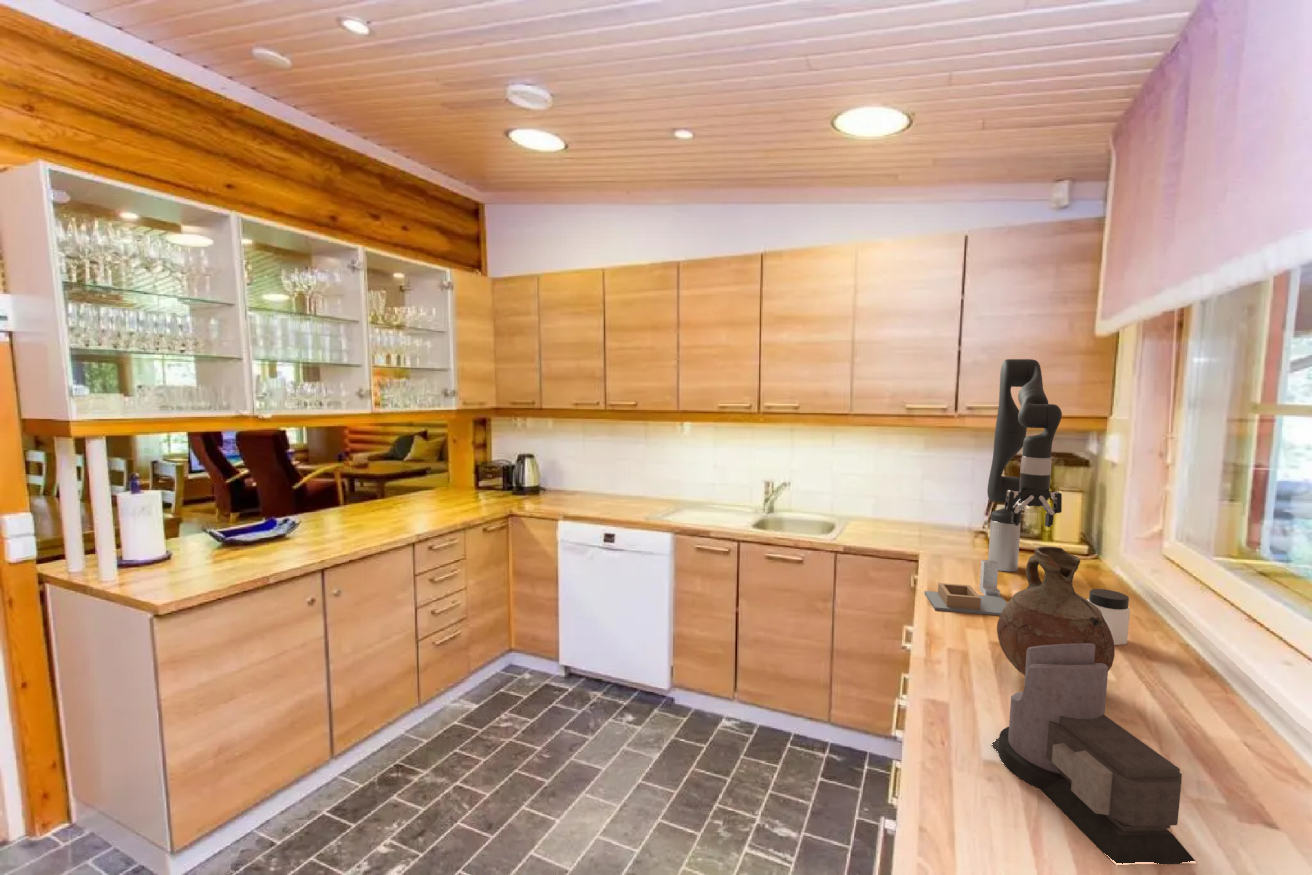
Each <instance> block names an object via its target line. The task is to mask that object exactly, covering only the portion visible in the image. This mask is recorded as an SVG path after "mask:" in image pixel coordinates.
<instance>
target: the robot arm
mask: <svg viewBox="0 0 1312 875" xmlns="http://www.w3.org/2000/svg"><path fill="white" fill-rule="evenodd" d="M1043 385H1044V384H1043V376H1042V368H1041V365H1040V363H1039V361H1037V360H1036V359H1032V358H1031V359H1030V358H1017V359H1016V358H1010V359H1009V358H1007V359H1004V360H1003V362H1002V364H1001V367H1000V374H999V391H998V392H999V398H998V408H997V416H996V422H995V429H994V440H993V454H992V461H991V467H990V472H989V477H988V482H987V489H986V490H987V498H988V499H989V501H991V502H997V503H1004V507H1003V508H1000V509H996V510H993V511H991V513H990V523H989V541H988V554H987V556H988V558H987V560H994V561H996V562H997V563H998V571H1000V572H1009V573H1010V572H1011V573H1012V572H1017V571H1018V569H1019V567H1018V566H1019V555H1020V553H1019V552H1020V541H1021V540H1020V537H1021V522H1022V510H1023V509H1024V508H1026V506H1027V507H1033V506H1034V507H1039V508H1040V507H1042V508H1043V510H1044V511H1045V512H1046V513H1045V515H1044V517H1045V518H1044V526H1045V527H1046V528H1051V526H1053V524H1054V515H1056V514H1061V513H1062V508H1063V506H1062V505H1063V504H1062V501H1063V498H1062V497H1063V496H1062V493H1061V492H1058V491H1056V490H1055V491H1053V492H1050V491H1051V490H1050V488H1051V487H1050V486H1051V474H1052V458H1051V457H1052V447H1053V441H1054V437H1055V435H1056V431H1057V430H1058V427H1059V426H1060V423H1061V420H1062V417H1063V416H1062V415H1063V413H1062V410H1061V407H1060V406H1058V405H1057V404H1054V403H1049V400H1048V397H1047V395H1046V393H1045V391H1044V386H1043ZM1012 388H1020V389H1019V391H1018V395H1017V398H1018V402H1019V406H1020V407H1018V406H1017V405H1016V403H1015V401H1014V398H1013V396H1012V390H1011V389H1012ZM1029 428H1030V429H1043V431H1042V432H1041V433H1039V434H1036V435H1029V436H1027V429H1029ZM1021 450H1022V456H1021V461H1020V470H1019V471H1020V472H1019V477H1018V476H1006V475H1005V476H1004V475H1003V473H1004V470H1005V468H1006V466H1007V465H1008V464H1009V462H1010V461H1011V460H1012V459H1013V458H1014V457H1015V456H1016V455H1017V454H1018V453H1019V452H1020V451H1021ZM1050 498H1051V499H1052V506H1053V507H1052V506H1051V505H1050V504H1049V502H1048V500H1049V499H1050Z"/></svg>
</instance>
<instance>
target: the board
mask: <svg viewBox="0 0 1312 875" xmlns="http://www.w3.org/2000/svg"><path fill="white" fill-rule="evenodd" d="M924 595H925V596H926V599H927V600H928V601H929V603H930V605H931V606H932V608H933V609H934V610H935V611H942V612H953V613H966V614H978V615H989V616H999V617H1000V615H1001V613H1002V611H1003V609H1004V608H1005V606H1006V605H1007V603H1008V602H1007V601H1006V600H1005V599H1004V597H1003V596H1000V597H996V596H985V595H984V594H983V595H981V594H978V593H977V592H976V591H975V589H973V587H972V586H971V585H969V584H958V583H957V584H955V583H944V582H938V586H937V591H931V590H924Z"/></svg>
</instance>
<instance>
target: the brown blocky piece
mask: <svg viewBox="0 0 1312 875" xmlns="http://www.w3.org/2000/svg"><path fill="white" fill-rule="evenodd" d="M1094 658H1095V645H1094V644H1091V643H1073V644H1054V645H1042V646H1034V647H1029V648H1028V649H1027V655H1026V669H1025V676H1024V687H1023V691H1018V692H1016V693H1014V694H1012V695H1010V707H1009V722H1008V725H1009V726H1007V727H1005V728H1003V729H1002V730H1001V731H1000V733H999V736H998V737H997V738H998V739H997V738H995V739H996V741H995V742H993V741H992V742H993V743H992V742H991V743H992V744H993V745H992V746H993V747H992V746H991V747H992V748H993V749H994V748H995V749H996V750H995V749H994V750H995V752H997V751H998V752H997V754H998V753H999V754H998V757H1000V758H999V759H1001V760H1000V761H1001V763H1002V762H1003V763H1004V764H1003V763H1002V764H1003V765H1004V766H1005V765H1006V767H1007V768H1008V769H1009V770H1010V771H1009V772H1011V773H1012V774H1013V775H1014V774H1015V775H1016V776H1015V775H1014V776H1015V777H1017V778H1018V779H1020V780H1021V781H1023V782H1024V783H1027V784H1028V785H1030V786H1032V787H1034V788H1036V789H1038V790H1040V791H1041V792H1043V794H1045V796H1046V797H1047V798H1048V799H1049V800H1050V801H1051V802H1052V803H1053V804H1054V805H1055V806H1056V807H1057V808H1058V809H1059V810H1060V811H1061V812H1062V813H1063V814H1064V815H1065V816H1066V817H1067V818H1068V820H1070V821H1071V822H1072V823H1073V824H1074V825H1075V826H1076V827H1077V828H1078V829H1079V830H1080V832H1082V834H1084V835H1085V836H1086V837H1087V838H1088V839H1089V841H1091V843H1093V844H1094V846H1095V847H1097V848H1098V849H1099V851H1101V852H1102V854H1104V853H1105V854H1106V855H1108V856H1109V857H1110V858H1111V859H1112V860H1114V861H1115V862H1116V863H1122V864H1123V863H1135V862H1154V863H1157V864H1158V863H1159V864H1164V865H1165V864H1167V865H1181V864H1180V863H1182V862H1188V861H1189V862H1190V861H1196V860H1195V859H1194V858H1193V856H1192V855H1191V854H1190V852H1188V850H1187V849H1186V848H1185V847H1184V846H1183V845H1182V843H1181V841H1179V840H1178V838H1176V835H1174V834H1173V833H1172V832H1171V831H1170V830H1169V829H1171V826H1178V821H1179V820H1178V819H1179V812H1180V803H1181V802H1180V801H1181V799H1180V798H1181V791H1182V778H1183V777H1182V775H1183V774H1182V773H1181V772H1180V768H1179V767H1178V766H1177V765H1175V764H1174V763H1172V762H1171V761H1170V760H1168V759H1167V758H1166V757H1164V756H1163V755H1161V754H1160V753H1159V752H1158V751H1156V750H1154V749H1153V748H1151V747H1150V746H1149V745H1147V744H1146V743H1144V741H1142V740H1140V739H1139V738H1137V737H1136V736H1134V734H1132V733H1131V732H1129V731H1127V730H1126V729H1125V728H1124V727H1122V726H1120V725H1119V724H1118V723H1116V722H1115V721H1114V720H1112V719H1111V718H1109V717H1108V716H1106V715H1105V712H1106V702H1107V700H1106V699H1107V688H1108V686H1107V685H1108V677H1109V671H1108V667H1107V666H1106V665H1105V664H1102V663H1094ZM1006 767H1005V768H1006ZM1007 768H1006V769H1007ZM1008 769H1007V770H1008ZM1105 854H1104V855H1105ZM1106 855H1105V856H1106Z"/></svg>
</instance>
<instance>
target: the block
mask: <svg viewBox="0 0 1312 875" xmlns="http://www.w3.org/2000/svg"><path fill="white" fill-rule="evenodd" d="M980 561H981V562H980V576H979V580H980V581H979V591H980V592H981V593H982V594H983V595H984V596H996V597H1001V591H1000V590H999V589H998V577H999V575H998V574H999V573H998V572H999V570H998V563H997V562H996V561H994V560H988V559H980Z"/></svg>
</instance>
